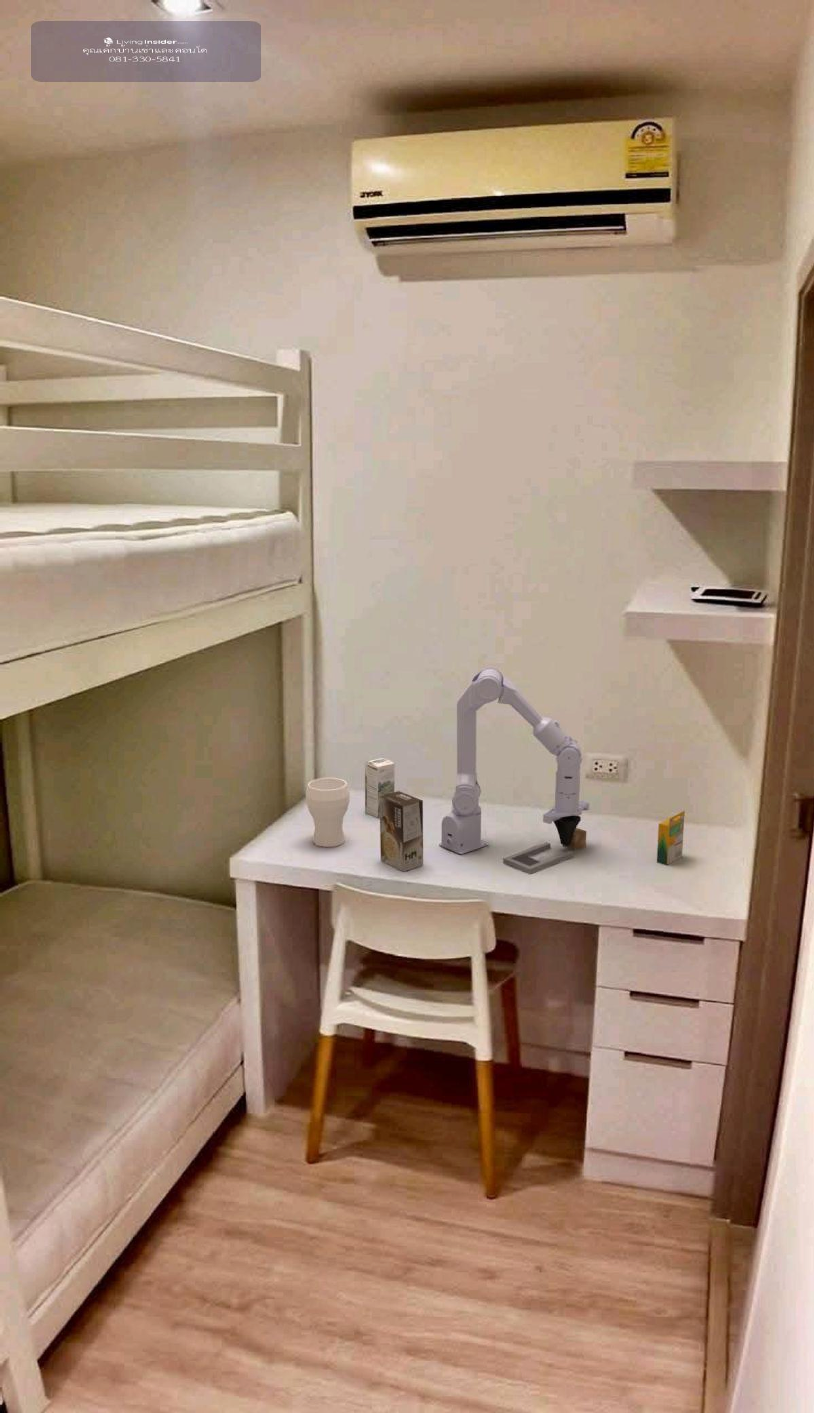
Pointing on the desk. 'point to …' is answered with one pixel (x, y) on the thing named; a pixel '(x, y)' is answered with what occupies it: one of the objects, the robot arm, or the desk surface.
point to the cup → (328, 809)
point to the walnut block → (577, 840)
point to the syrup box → (378, 783)
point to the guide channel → (514, 863)
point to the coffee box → (401, 830)
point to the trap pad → (528, 861)
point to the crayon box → (670, 839)
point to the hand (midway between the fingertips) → (565, 844)
